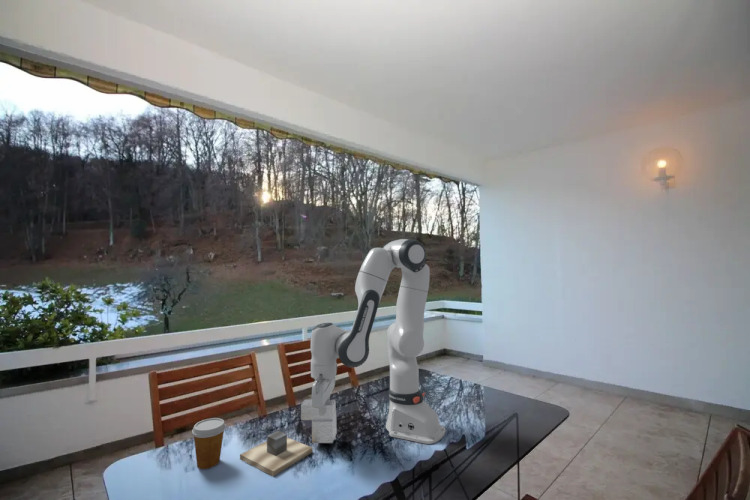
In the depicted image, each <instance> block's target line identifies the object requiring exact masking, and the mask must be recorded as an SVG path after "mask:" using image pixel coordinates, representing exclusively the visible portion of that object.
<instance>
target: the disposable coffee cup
mask: <svg viewBox="0 0 750 500" xmlns="http://www.w3.org/2000/svg"><path fill="white" fill-rule="evenodd" d="M226 427H227V426H226V423H225V420H224V419H223V418H219V417H211V418H206V419H202V420H201V421H198V422H196V423H195V424H194V426H193V428H192V430H191V432H192V433H191V434H192V436H193V439H194V440H193V441H194V450H195V459H196V466H197V468H198V469H200V470H207V469H208V470H209V469H211V468H214V467H215V466H217V465H219V463H220V459H221V452H222V445H223V440H224V439H223V438H224V433H225V432H224V431H225V429H226Z"/></svg>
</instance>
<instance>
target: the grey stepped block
mask: <svg viewBox="0 0 750 500" xmlns="http://www.w3.org/2000/svg"><path fill="white" fill-rule="evenodd" d="M336 405H337V404H336V399H330V400H327V401H326V403H325V405H324V408H325V414H324V416H320V415H319V409H318V408H313V407H312V399H304V400H303V401H302V403H301V404H300V420H301V421H311V443H313V444H314V443H315V444H317V443H318V444H333V443H334V441H335V438H336V436H337V433H338V432H337V413H336V412H337V411H336V409H337V408H336Z"/></svg>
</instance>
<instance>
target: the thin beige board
mask: <svg viewBox="0 0 750 500" xmlns="http://www.w3.org/2000/svg"><path fill="white" fill-rule="evenodd" d="M312 453H313V447H311V446H310V445H307V444H304V443H303V442H302V443H301V442H299V441H297V440H295V439H293V438H290V437H288V433H285V432H282V431H280V430H276V431H275V432H273V433H271V434H268V435H267V436H266V441H264V442H262V443H260V444H258V445H256V446H254V447H252V448H250V449H248V450H246V451H245V452H242V453H240V455H239V460H241V461H242V462H245V463H246V464H249V465H250V466H252V467H254V468H256V469H258V470H260V471H262V472H263V473H266V474H267V475H269V476H272V477H274V476H276V475H279V473H281V472H283V471H285V470H286V469H287V468H289V467H291V466H292V465H294V464H296V463H297V462H299V461H301V460H302V459H304V458H306V457H307V456H309V455H310V454H312Z"/></svg>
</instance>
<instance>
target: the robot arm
mask: <svg viewBox="0 0 750 500" xmlns="http://www.w3.org/2000/svg"><path fill="white" fill-rule="evenodd" d="M426 251H427V250H426V247H425V246H424V244H423V243H422V242H420V241H418V240H416V239H406V238H400V239H395V240H390V241H387V242H386V243H384V244H383V245H382V247H373V248H372V249H370V250H369V251H368V253H367V255H366V256H365V258H364V260H363V262H362V263H361V266H360V269H359V271H358V274H357V277H356V280H355V286H354V292H355V294H356V297H357V302H358V307H357V311H356V316H355V318H354V321H353V324H352V326H351V330H348V329H344V328H341V327H339V326H337V325H335V324H334V323H332V322H323V323H319V324H317V325H315V326H314V327H313V328H312V330H311V334H310V353H311V359H310V377H311V378H312V379H314V382H313V383H312V388H311V400H312V407H313V408H318V409H319V415H320V416H324V414H325V408H324V405H325V403H326V401H327V400H331V394H332V392H333V391H334V389H335V385H336V376H337V370H338V363H337V359H339V360H340V363H342V364H343V365H344V366H346V367H347V368H351V369H352V368H357V367H361V366H362V365H363V364H364V363H365V362H366V361H367V359H368V358H369V354H370V341H369V340H370V335H371V332H372V328H373V325H374V322H375V320H376V319H375V318H376V315H377V312H378V308H379V305H380V302H381V299H382V296H383V295H384V291H385V289H386V287H387V283H388V280H389V277H390V274H391V272H392V271H393V270H394V269H395V268H397V269H400V270H401V280H400V281H401V282H400V284H399V285H400V286H399V290H398V294H397V295H398V296H397V300H396V304H395V308H396V312H395V322H393V323H391V324H390V325H389V326H388V328H387V331H386V343H387V353H388V354H387V355H388V364H389V388H388V403H389V405H388V406H389V407H388V414H387V415H388V416H387V420H386V423H385V429H386V430H387V431H388V432H389V434H388V435H389V437H392V438H396V439H401V440H406V441H410V442H416V443H420V444H426V445H431V444H435V443H437V442H439V441H441V439H443V437H444V436H445V435H446V431H447V430H446V427H445V426H443V425H441V424H440V420H439V415H438V413H437V412H436V411H435V410H434V409H433V408H431V406H430V405H429V404H428V403H426V401H425V400H424V397H425V396H426V392H423V393H422V392H421V390H420V387H419V385H420V381H419V380H420V377H419V374H420V373H419V365H418V361H417V356H419V355H420V354H421V353H422V352H423V350H424V347H425V340H424V328H425V327H424V326H425V325H424V324H425V323H424V322H425V321H424V320H425V319H424V318H425V309H426V303H427V300H428V293H429V289H430V288H429V286H430V271H431V269H430V266H428V264H427V252H426Z"/></svg>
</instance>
